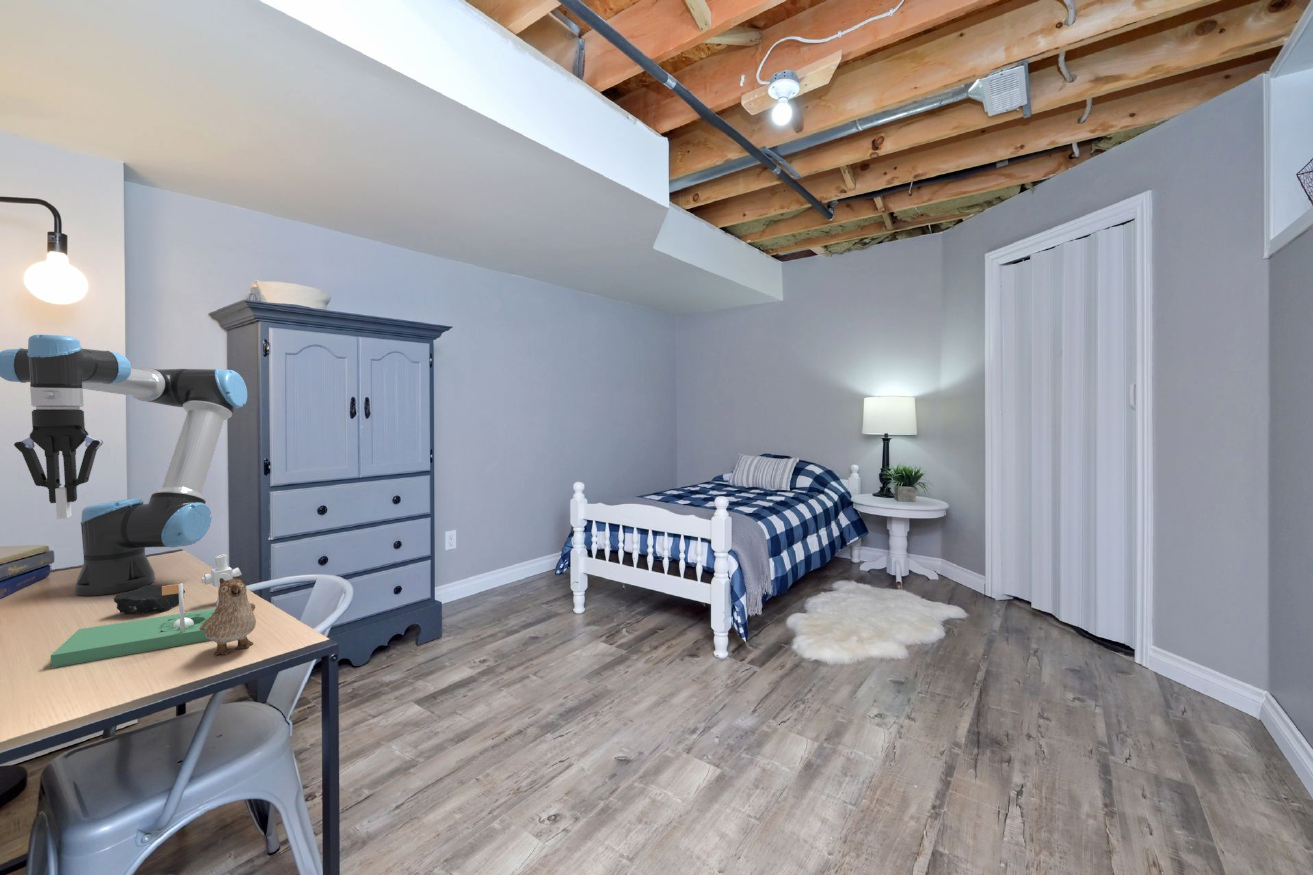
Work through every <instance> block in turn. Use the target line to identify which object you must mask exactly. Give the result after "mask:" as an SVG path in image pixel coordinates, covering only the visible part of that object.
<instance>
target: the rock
mask: <svg viewBox="0 0 1313 875" xmlns="http://www.w3.org/2000/svg"><path fill="white" fill-rule="evenodd" d="M168 585H169V584H160V585H159V584H158V585H155V584H149V585H146V586H143V587H140V588H137V589H133V590H129V591H124V592H119V593H117V594H116V595H115V597H114V598H113V602H114V603H115V604H116V609H117V610H118V611H119V613H120V614H125V615H133V614H142V613H143V614H151V613H163V612H167V611H169V610H171V609H173V608H175V607H177V606H179V593H177V594H169V595H162V586H168ZM185 593H186V590H185V589H184V588H183V598H184V599H185Z"/></svg>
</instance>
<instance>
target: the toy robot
mask: <svg viewBox="0 0 1313 875" xmlns="http://www.w3.org/2000/svg"><path fill="white" fill-rule="evenodd" d="M214 559H215V568H213V569H210V570H211V573H206V574H204V576H201V584H204V585H210V584H211V585H212V586H213V587H214V588H215V587H218V589H219V587H220V578H223V579H224V580H230V579H234V577H236V578H237V577H238V576H239V575H242V574H243V573H242V572H241V570H240V568H239V567H235V568H232V567H230V566H228V554H227V553H223V554H220V555H217V556H215V557H214ZM218 603H219V596H218V595H217V600H216V601H215V602H214V604H215V606H216V607H217V606H218Z"/></svg>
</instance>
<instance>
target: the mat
mask: <svg viewBox="0 0 1313 875" xmlns="http://www.w3.org/2000/svg"><path fill="white" fill-rule="evenodd" d="M167 585H168V586H162V595H169V594H177V593H179V605H178V607H179V611H178V612H179V613H176V614H170V615H164V616H163V615H162V616H155V617H149V618H144V619H137V620H130V621H124V622H123V621H122V622H117V623H109V624H104V625H98V626H97V625H96V626H90V627H83V628H79V629H77V631H75V632H74V633H73V634H72V635H71V636H70V637H69V638H68V639H67V640H65V641H64V642H63V643H62V644H61V645H60V646H59V647H58V648H56V650H54V651H53V652H52V654H50V668H51V669H54V668H59V667H65V666H71V665H77V664H83V663H89V662H95V661H100V660H105V659H111V658H116V657H123V656H128V655H135V654H139V653H145V652H151V651H152V652H153V651H156V650H163V649H169V648H174V647H178V646H185V645H186V646H187V645H190V644H196V643H201V642H207V641H210V640H209V639H207V638H206V635H205V630H199V628H200V627H201V626H202V624H203V623H204V622H205V621H206V620H207V619H209V618H210V617H211V615H212V614H213V613H214V611H215V609H216V608H217V607H215V608H207V609H202V610H196V611H190V612H189V611H188V612H185V602H184V601H185V600H184V599H185V597H184V598H183V589H184V583H175V584H167ZM184 617H186V618H190V619H192V620H193V622H194V625H191V626H185V619H184ZM178 619H180V627H173V624H174V622H175V621H176V620H178Z"/></svg>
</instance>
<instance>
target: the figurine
mask: <svg viewBox="0 0 1313 875" xmlns="http://www.w3.org/2000/svg"><path fill="white" fill-rule="evenodd" d="M242 577H243V576H242V575H239V576H236V578H233V579H230V580H224V579H223V578H220V587H219V588H218V592H217V597H218V596H219V603H218V606H216V607H215V608H216V609H215V608H214V609H215V611H214V613H213V614H212V615H211V617H210V618H209V619H207V620H206V621H205V622H204V623H203V624H202V626H201V627H200V628H199V630H205V635H206V638H207V639H209V641H211V642H214V643H216V650H215V652H214V653H213V656H217V655H227V654H228V653H229V652H230V651H231V649H230V648H228V647H227V646H228V645H227V643H231V642H235V641H237V645H236V647H235V648H234V650H240V649H241V650H242V649H249V647H250V646H251V645H254V642H252V641H251V640H249V638H248V637H247V636H248V635H250V634H251V633H252V632H253V631H254V629H255V628H256V625H257V624H256V623H257V621H256V620H257V619H256V615H255V613H254V611H255V609H256V605H255V603H253V602H250V601H249V599H248V595H247V586H246V583H244V582H243V581H242Z"/></svg>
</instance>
